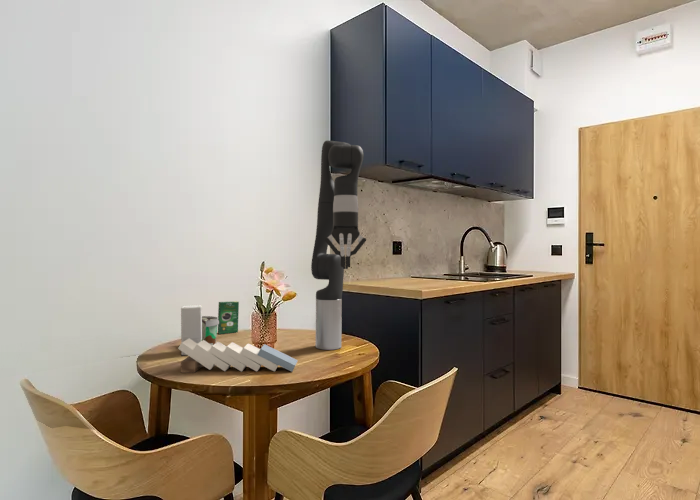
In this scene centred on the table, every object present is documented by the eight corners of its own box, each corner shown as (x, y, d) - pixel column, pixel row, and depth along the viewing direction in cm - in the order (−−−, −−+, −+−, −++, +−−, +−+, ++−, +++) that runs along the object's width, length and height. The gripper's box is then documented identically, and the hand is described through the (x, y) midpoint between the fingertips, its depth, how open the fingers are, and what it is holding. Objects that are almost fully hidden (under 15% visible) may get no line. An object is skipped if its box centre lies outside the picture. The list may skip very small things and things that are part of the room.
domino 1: (220, 358, 129) (189, 338, 129) (213, 364, 123) (181, 342, 123) (216, 364, 129) (185, 343, 129) (210, 370, 123) (177, 348, 123)
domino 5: (281, 360, 129) (248, 343, 129) (277, 365, 123) (243, 347, 123) (277, 366, 129) (245, 349, 129) (274, 371, 123) (240, 353, 123)
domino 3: (250, 360, 129) (218, 341, 129) (245, 365, 123) (211, 345, 123) (246, 366, 129) (214, 347, 129) (241, 371, 123) (208, 351, 123)
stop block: (204, 364, 130) (204, 354, 130) (195, 372, 122) (195, 361, 122) (190, 364, 130) (191, 354, 130) (180, 372, 122) (180, 361, 122)
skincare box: (201, 354, 143) (201, 307, 143) (179, 355, 141) (180, 308, 141) (202, 349, 151) (202, 304, 151) (182, 350, 149) (182, 304, 149)
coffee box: (236, 331, 184) (236, 300, 184) (238, 332, 181) (239, 301, 181) (217, 333, 179) (217, 301, 179) (219, 334, 177) (219, 302, 177)
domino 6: (297, 360, 129) (264, 344, 129) (295, 365, 123) (260, 348, 123) (294, 366, 129) (261, 350, 129) (292, 371, 123) (257, 355, 123)
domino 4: (264, 360, 129) (232, 341, 129) (260, 365, 123) (226, 346, 123) (261, 366, 129) (229, 347, 129) (256, 371, 123) (223, 352, 123)
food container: (223, 347, 153) (224, 319, 153) (206, 349, 150) (206, 320, 150) (213, 341, 163) (213, 315, 163) (196, 343, 160) (196, 316, 160)
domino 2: (234, 360, 129) (203, 339, 129) (229, 365, 123) (196, 344, 123) (230, 365, 129) (199, 345, 129) (225, 371, 123) (192, 349, 123)
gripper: (367, 212, 134) (366, 268, 134) (324, 212, 134) (324, 268, 134) (368, 210, 127) (368, 269, 127) (323, 210, 127) (322, 269, 127)
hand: (345, 268), depth 130 cm, fingers closed
